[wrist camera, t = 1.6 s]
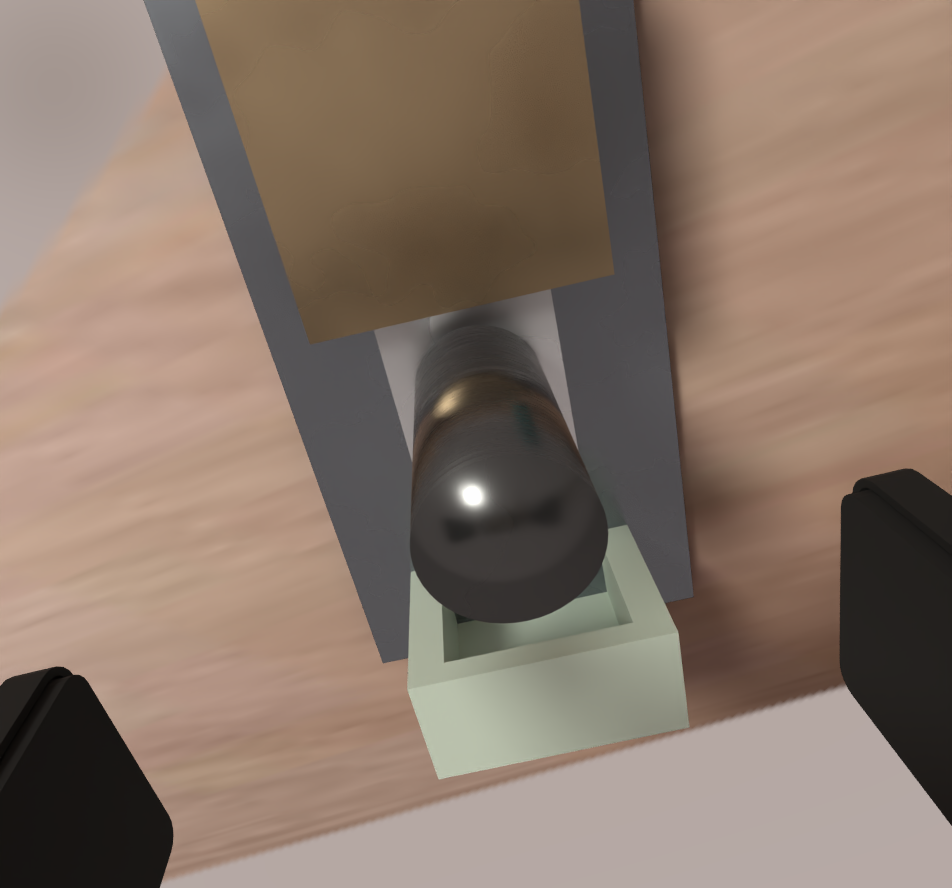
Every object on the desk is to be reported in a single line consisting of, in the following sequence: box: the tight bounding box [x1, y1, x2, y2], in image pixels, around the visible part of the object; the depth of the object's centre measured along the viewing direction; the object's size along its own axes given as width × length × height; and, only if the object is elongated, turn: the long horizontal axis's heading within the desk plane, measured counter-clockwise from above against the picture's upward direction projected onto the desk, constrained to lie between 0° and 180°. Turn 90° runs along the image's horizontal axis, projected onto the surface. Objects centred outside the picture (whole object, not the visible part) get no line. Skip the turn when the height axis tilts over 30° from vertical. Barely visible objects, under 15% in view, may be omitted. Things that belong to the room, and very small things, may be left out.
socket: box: [407, 525, 689, 779], centre depth 22 cm, size 7×4×5 cm, turn 102°
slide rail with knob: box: [144, 0, 694, 663], centre depth 18 cm, size 11×22×6 cm, turn 12°
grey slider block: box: [374, 289, 608, 624], centre depth 14 cm, size 4×14×10 cm, turn 12°
